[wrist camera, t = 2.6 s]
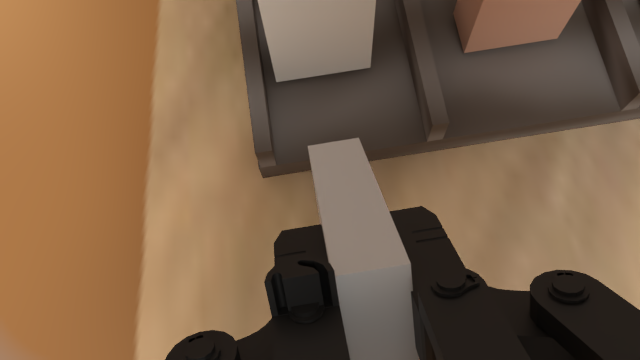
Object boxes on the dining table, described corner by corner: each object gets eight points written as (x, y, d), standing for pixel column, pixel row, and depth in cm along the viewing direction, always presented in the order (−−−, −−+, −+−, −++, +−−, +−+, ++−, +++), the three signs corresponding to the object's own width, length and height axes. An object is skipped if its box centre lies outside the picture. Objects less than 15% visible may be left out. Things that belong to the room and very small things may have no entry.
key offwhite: (370, 67, 30) (377, -22, 24) (276, 82, 30) (256, -4, 24) (362, 27, 31) (367, -71, 24) (270, 41, 31) (249, -53, 24)
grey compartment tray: (780, 96, 31) (833, 62, 28) (262, 177, 31) (253, 153, 27) (699, -81, 35) (736, -129, 32) (239, -10, 35) (227, -51, 31)
